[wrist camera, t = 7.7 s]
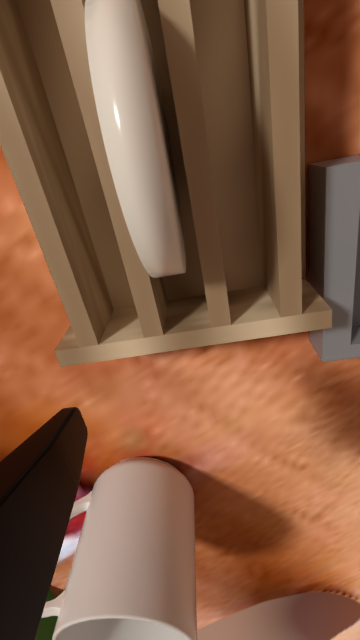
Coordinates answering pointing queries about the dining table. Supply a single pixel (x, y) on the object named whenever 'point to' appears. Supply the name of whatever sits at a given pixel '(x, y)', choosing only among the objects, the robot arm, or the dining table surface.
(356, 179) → the stand
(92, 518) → the mug
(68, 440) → the robot arm
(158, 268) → the plate
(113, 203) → the rack
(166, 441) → the dining table surface
